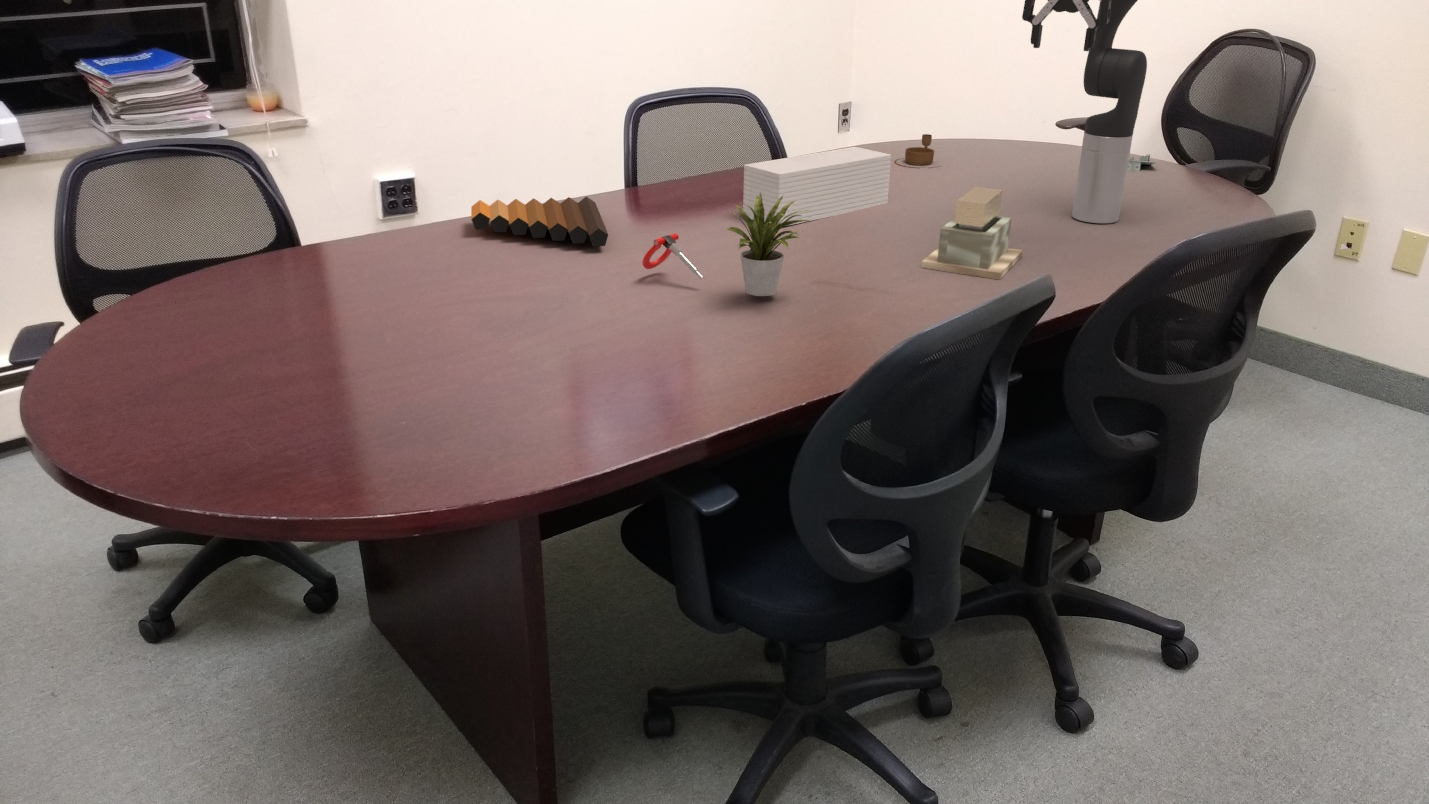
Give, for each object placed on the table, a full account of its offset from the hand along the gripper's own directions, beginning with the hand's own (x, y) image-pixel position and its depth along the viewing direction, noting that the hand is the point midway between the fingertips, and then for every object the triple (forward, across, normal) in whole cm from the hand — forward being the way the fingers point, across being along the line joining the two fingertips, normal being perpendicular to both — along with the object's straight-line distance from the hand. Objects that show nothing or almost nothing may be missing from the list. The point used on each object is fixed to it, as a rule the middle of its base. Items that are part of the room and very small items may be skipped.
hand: (1061, 49), depth 191 cm
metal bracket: (+35, -12, -83) cm, 91 cm away
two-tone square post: (+35, +8, +13) cm, 38 cm away
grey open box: (+36, +8, +13) cm, 39 cm away
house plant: (+36, +34, +48) cm, 69 cm away
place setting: (+37, +41, -64) cm, 84 cm away
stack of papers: (+37, +47, -8) cm, 60 cm away
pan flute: (+34, +80, +45) cm, 98 cm away
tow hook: (+38, +52, +46) cm, 80 cm away
